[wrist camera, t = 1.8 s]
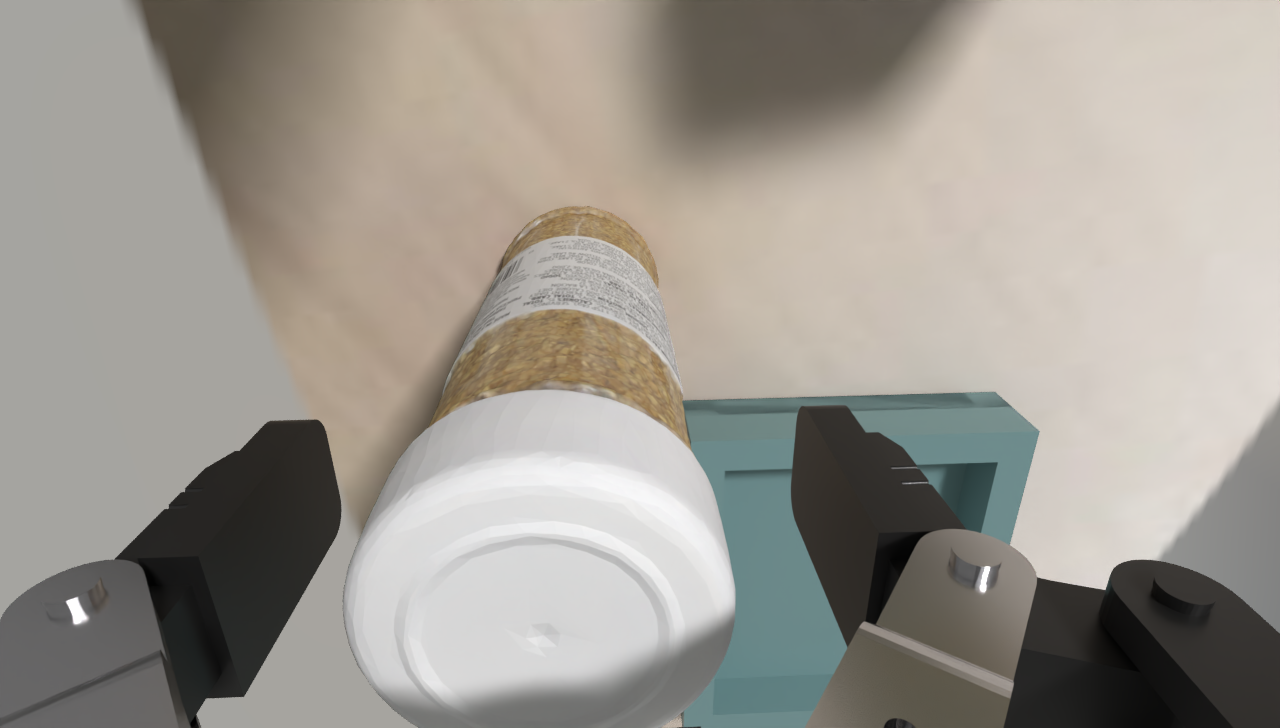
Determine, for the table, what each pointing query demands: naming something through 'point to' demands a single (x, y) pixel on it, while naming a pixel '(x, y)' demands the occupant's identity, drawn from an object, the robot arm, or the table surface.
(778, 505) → the tray
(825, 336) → the table surface
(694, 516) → the sprinkles bottle
